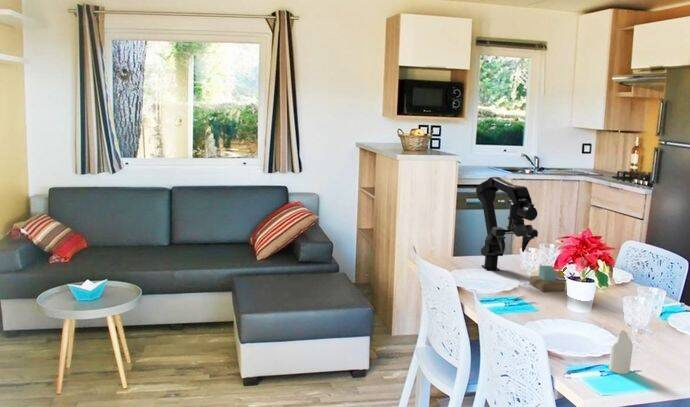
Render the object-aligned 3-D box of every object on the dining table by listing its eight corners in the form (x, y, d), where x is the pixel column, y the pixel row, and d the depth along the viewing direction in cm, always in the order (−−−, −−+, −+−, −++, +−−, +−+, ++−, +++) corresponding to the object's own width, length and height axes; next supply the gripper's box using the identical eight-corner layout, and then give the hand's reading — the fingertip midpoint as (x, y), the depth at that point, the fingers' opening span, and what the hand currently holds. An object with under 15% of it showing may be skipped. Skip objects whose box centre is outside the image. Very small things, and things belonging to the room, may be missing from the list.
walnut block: (529, 285, 260) (530, 276, 259) (550, 284, 262) (551, 275, 262) (542, 293, 250) (543, 283, 249) (564, 292, 253) (565, 282, 252)
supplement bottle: (553, 279, 269) (556, 250, 266) (552, 275, 275) (556, 247, 273) (569, 281, 267) (573, 252, 264) (568, 277, 273) (572, 249, 271)
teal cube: (538, 277, 258) (539, 265, 257) (549, 277, 259) (551, 265, 258) (544, 281, 253) (545, 269, 252) (555, 281, 254) (556, 269, 253)
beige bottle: (625, 335, 174) (608, 328, 179) (620, 375, 177) (603, 367, 181) (639, 332, 177) (622, 325, 182) (633, 372, 179) (617, 364, 184)
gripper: (502, 219, 252) (498, 256, 255) (545, 220, 255) (541, 256, 258) (492, 213, 263) (489, 249, 266) (534, 214, 266) (530, 250, 269)
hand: (512, 251), depth 264 cm, fingers open, 9 cm apart
